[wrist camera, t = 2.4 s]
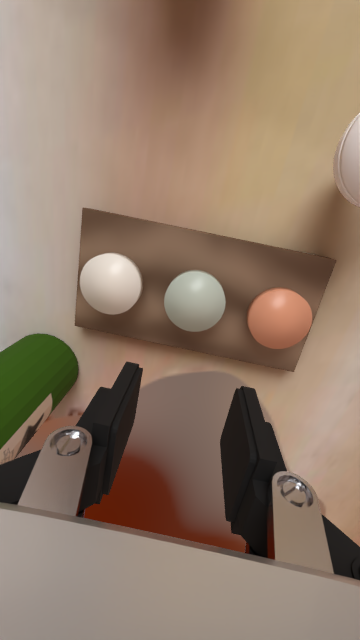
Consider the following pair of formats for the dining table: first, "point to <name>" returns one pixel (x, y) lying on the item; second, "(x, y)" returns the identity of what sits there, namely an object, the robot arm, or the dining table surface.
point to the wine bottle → (31, 388)
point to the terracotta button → (279, 318)
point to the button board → (206, 255)
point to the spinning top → (349, 162)
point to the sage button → (194, 301)
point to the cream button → (111, 283)
